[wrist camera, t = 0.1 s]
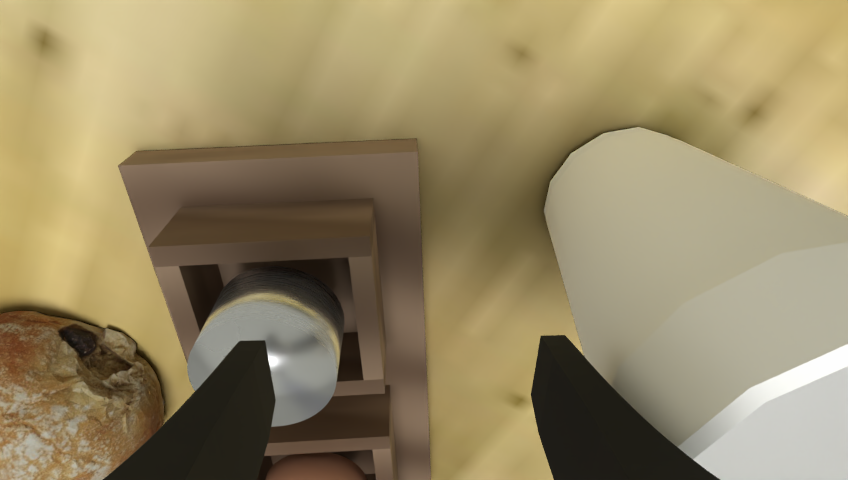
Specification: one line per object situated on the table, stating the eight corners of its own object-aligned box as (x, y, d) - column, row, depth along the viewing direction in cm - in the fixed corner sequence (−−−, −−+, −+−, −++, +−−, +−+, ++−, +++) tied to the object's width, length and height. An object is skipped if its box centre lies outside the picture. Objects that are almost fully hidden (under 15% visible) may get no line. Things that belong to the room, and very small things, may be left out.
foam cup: (462, 208, 22) (549, 509, 11) (644, 34, 18) (1037, 212, 7) (597, 316, 26) (762, 619, 15) (767, 188, 22) (1144, 455, 11)
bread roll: (210, 336, 30) (186, 393, 22) (125, 495, 29) (71, 609, 22) (24, 260, 27) (-78, 297, 19) (-71, 437, 26) (-212, 545, 19)
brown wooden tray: (430, 476, 31) (435, 552, 27) (246, 486, 31) (223, 566, 27) (416, 138, 20) (421, 184, 16) (135, 151, 20) (73, 201, 16)
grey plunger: (350, 362, 21) (344, 422, 18) (231, 369, 21) (207, 430, 18) (337, 262, 18) (326, 315, 16) (201, 269, 18) (169, 323, 16)
